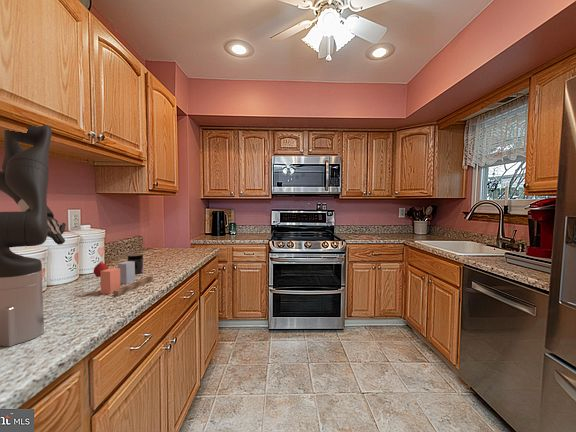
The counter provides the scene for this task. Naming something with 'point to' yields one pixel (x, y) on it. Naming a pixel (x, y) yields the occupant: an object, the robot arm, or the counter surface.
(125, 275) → the grey rectangular block
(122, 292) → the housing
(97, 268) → the onion
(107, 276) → the orange rectangular block
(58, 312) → the counter surface
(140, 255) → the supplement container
